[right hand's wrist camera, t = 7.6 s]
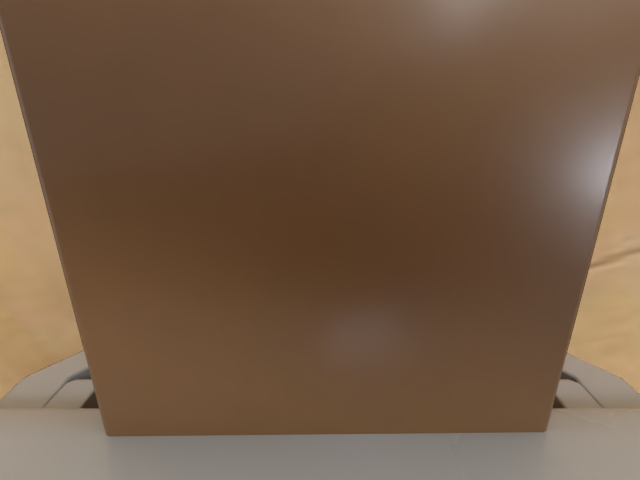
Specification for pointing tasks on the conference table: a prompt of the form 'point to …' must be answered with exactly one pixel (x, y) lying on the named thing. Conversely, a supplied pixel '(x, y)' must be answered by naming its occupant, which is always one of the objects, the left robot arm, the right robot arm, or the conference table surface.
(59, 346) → the conference table surface
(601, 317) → the conference table surface
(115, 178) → the post
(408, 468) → the right robot arm
